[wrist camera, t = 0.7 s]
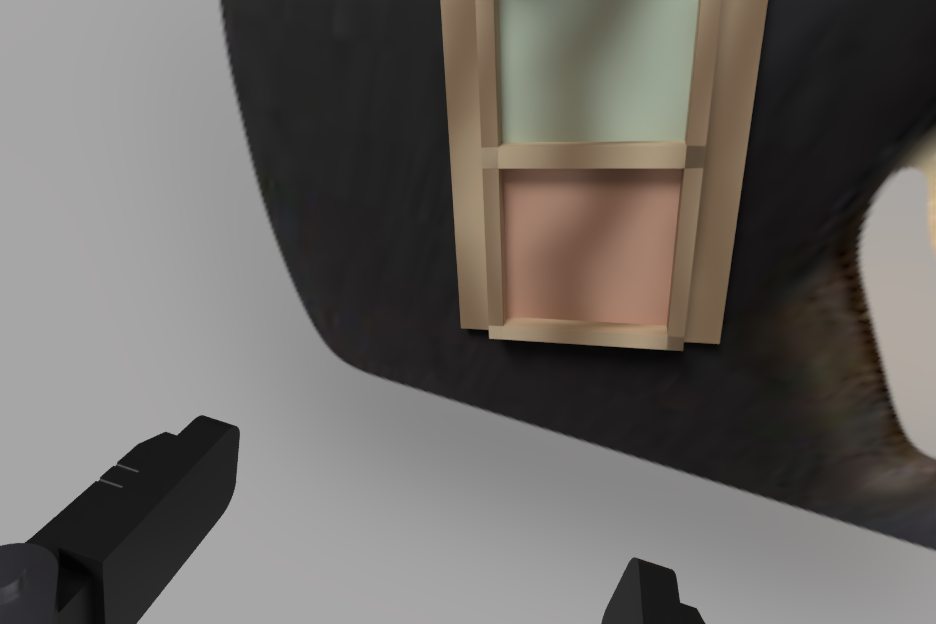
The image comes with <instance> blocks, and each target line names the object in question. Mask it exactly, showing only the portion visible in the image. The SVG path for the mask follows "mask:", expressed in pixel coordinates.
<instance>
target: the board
mask: <svg viewBox="0 0 936 624" xmlns="http://www.w3.org/2000/svg"><path fill="white" fill-rule="evenodd" d="M767 3H768V0H441V16H442V32H443V48H444V64H445V80H446V96H447V112H448V128H449V143H450V159H451V175H452V191H453V207H454V223H455V239H456V255H457V271H458V287H459V303H460V319H461V328H467V329H483V330H489V339H505V340H520V341H536V342H551V343H567V344H582V345H598V346H613V347H628V348H644V349H659V350H675V351H683V345H684V342H694V343H711V344H720V337H721V330H722V323H723V316H724V309H725V302H726V294H727V287H728V280H729V273H730V266H731V259H732V252H733V245H734V238H735V231H736V223H737V216H738V209H739V202H740V195H741V188H742V181H743V174H744V167H745V160H746V153H747V145H748V138H749V131H750V124H751V117H752V110H753V103H754V96H755V89H756V82H757V74H758V67H759V60H760V53H761V46H762V39H763V32H764V25H765V18H766V11H767Z"/></svg>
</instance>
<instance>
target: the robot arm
mask: <svg viewBox="0 0 936 624" xmlns="http://www.w3.org/2000/svg"><path fill="white" fill-rule="evenodd" d="M239 438H240V431H239V428H238V427H237V426H234V425H231V424H228V423H225V422H222V421H219V420H216V419H212V418H210V417H206V416H203V415H202V416H199V417H197V418H196V419H194V420H193V421H192V422H191V423H190V424H189V425H188V426H187V427H186V428H185V429H184V430H182V431H181V433H179V434H178V435H174V434H170V433H167V432H164V433H162V434H160V435H157V436H155V437H153V438H151V439H148V440H146V441H144V442H142V443H139V444H138V445H137V446H135V447H134V448H133V449H132V450H131V451H130V452H129V453H127V454H126V455H125V456H124V457H123V458H122V459H121V460H119V461H118V462H117V465H116V466H113V467H111V468H110V469H109V470H108V471H107V472H106V473H105V474H103V475H102V476H101V477H100V480H99V481H98V482H97V481H95V483H93V484H92V485H91V486H90V487H89V488H88V489H86V490H85V491H84V492H83V493H82V494H81V495H80V496H78V497H77V498H76V499H75V500H74V501H73V502H72V503H70V504H69V505H68V506H67V507H66V508H65V509H64V510H62V511H61V512H60V513H59V514H58V515H57V516H56V517H54V518H53V519H52V520H51V521H50V522H49V523H48V524H46V525H45V526H44V527H43V528H42V529H41V530H40V531H38V532H37V533H36V534H35V535H34V536H33V537H32V538H30V539H29V540H28V541H27V542H25V543H15V544H7V545H2V546H0V624H137V622H138V621H139V620H140V618H141V617H142V616H143V614H144V613H145V612H146V611H147V610H148V608H149V607H150V606H151V605H152V603H153V602H154V601H155V599H156V598H157V597H158V596H159V595H160V593H161V592H162V591H163V589H164V588H165V587H166V586H167V584H168V583H169V582H170V581H171V579H172V578H173V577H174V576H175V574H176V573H177V572H178V570H179V569H180V568H181V567H182V565H183V564H184V563H185V562H186V560H187V559H188V558H189V557H190V555H191V554H192V553H193V551H194V550H195V549H196V548H197V546H198V545H199V544H200V543H201V541H202V540H203V539H204V538H205V536H206V535H207V534H208V532H209V531H210V530H211V529H212V528H213V526H214V525H215V524H216V522H217V521H218V520H219V519H220V517H221V516H222V515H223V513H224V512H225V510H226V508H227V507H228V505H229V503H230V500H231V498H232V496H233V493H234V489H235V484H236V474H237V462H238V449H239ZM602 624H705V622H704V621H703V619H702V617H701V615H700V613H699V612H698V610H697V608H694V607H691V606H688V605H685V604H682V603H680V599H679V592H678V585H677V578H676V574H675V572H674V571H673V570H672V569H669V568H666V567H663V566H660V565H656V564H653V563H650V562H647V561H644V560H641V559H638V558H635V557H634V558H632V559H631V560H630V562H629V564H628V565H627V568H626V570H625V571H624V574H623V576H622V578H621V580H620V582H619V584H618V586H617V588H616V590H615V592H614V594H613V596H612V598H611V600H610V602H609V604H608V606H607V608H606V610H605V613H604V616H603V620H602Z"/></svg>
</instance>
